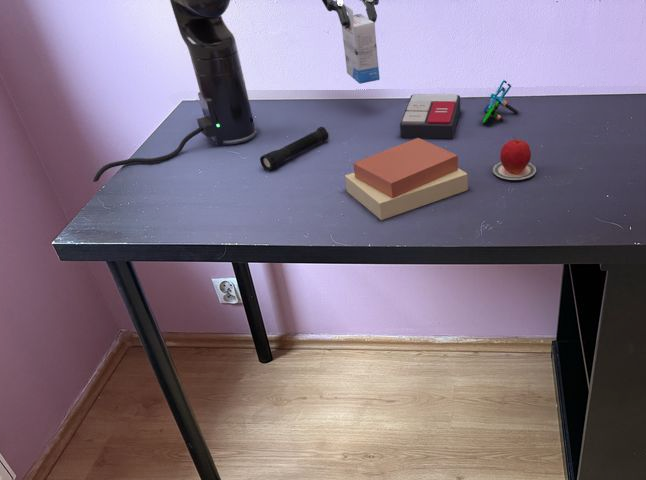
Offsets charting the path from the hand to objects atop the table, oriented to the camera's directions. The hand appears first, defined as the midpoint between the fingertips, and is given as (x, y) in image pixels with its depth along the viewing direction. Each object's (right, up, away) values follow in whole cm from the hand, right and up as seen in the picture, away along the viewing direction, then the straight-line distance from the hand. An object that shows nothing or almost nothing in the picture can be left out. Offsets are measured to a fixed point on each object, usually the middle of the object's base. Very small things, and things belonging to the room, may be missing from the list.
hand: (360, 24), depth 137 cm
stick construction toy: (+30, -17, +7) cm, 35 cm away
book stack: (+10, -39, -17) cm, 44 cm away
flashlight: (-12, -28, -3) cm, 31 cm away
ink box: (0, -8, +9) cm, 11 cm away
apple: (+30, -35, -13) cm, 48 cm away
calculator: (+15, -19, +6) cm, 25 cm away
